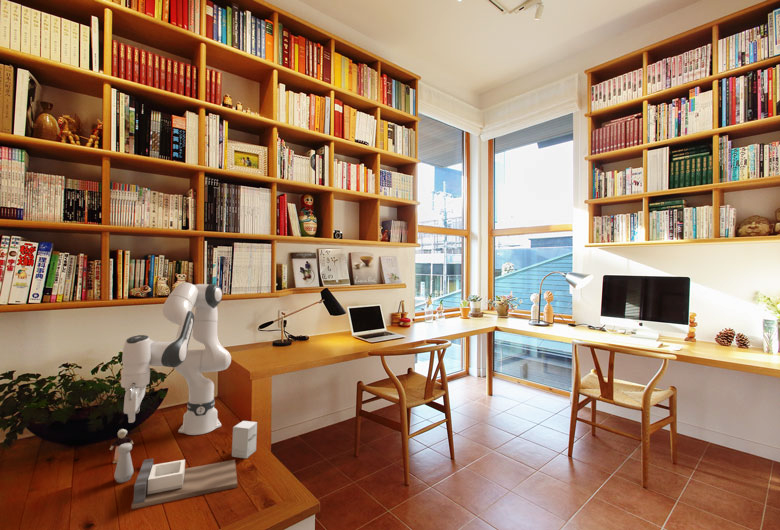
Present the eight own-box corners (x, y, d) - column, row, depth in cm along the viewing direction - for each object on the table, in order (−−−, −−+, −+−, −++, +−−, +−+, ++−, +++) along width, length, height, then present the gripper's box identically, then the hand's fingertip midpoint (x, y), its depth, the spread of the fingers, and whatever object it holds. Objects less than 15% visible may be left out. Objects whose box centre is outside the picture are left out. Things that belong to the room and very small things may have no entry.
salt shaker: (137, 477, 138) (138, 442, 138) (122, 485, 132) (123, 449, 132) (125, 474, 139) (126, 440, 139) (110, 482, 134) (111, 446, 134)
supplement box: (246, 459, 153) (248, 428, 153) (231, 456, 154) (232, 426, 155) (256, 450, 160) (257, 421, 160) (241, 448, 162) (242, 420, 162)
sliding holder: (152, 478, 134) (152, 464, 134) (184, 472, 138) (185, 459, 138) (147, 494, 124) (147, 479, 124) (182, 487, 129) (182, 473, 129)
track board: (141, 480, 135) (142, 460, 136) (234, 463, 149) (235, 444, 149) (131, 509, 119) (132, 486, 119) (237, 487, 133) (238, 466, 133)
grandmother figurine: (111, 465, 145) (112, 433, 145) (108, 462, 147) (109, 430, 148) (133, 458, 151) (135, 427, 151) (130, 455, 153) (131, 424, 154)
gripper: (141, 387, 129) (139, 426, 128) (149, 372, 147) (148, 407, 147) (119, 389, 126) (117, 429, 125) (130, 373, 144) (129, 409, 144)
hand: (134, 417), depth 136 cm, fingers open, 8 cm apart
